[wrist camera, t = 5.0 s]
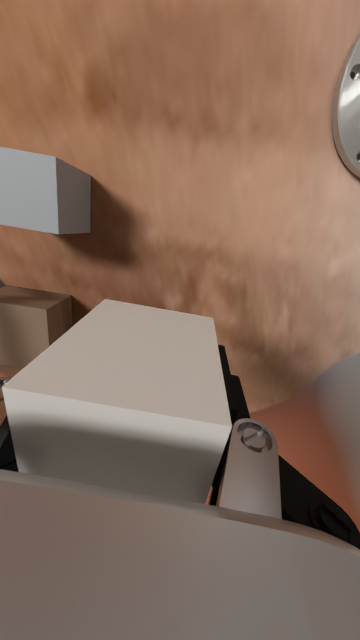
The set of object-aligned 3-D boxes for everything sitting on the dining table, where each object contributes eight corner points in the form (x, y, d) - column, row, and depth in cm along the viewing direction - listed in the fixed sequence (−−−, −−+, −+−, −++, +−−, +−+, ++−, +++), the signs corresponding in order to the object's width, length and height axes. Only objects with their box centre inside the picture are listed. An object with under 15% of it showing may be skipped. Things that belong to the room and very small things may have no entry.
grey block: (90, 175, 21) (55, 156, 15) (90, 232, 23) (58, 234, 17) (36, 165, 21) (-19, 143, 15) (40, 224, 23) (-8, 222, 17)
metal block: (72, 294, 26) (46, 309, 21) (73, 348, 28) (51, 372, 24) (9, 285, 25) (-31, 297, 21) (17, 340, 28) (-17, 362, 23)
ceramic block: (213, 318, 10) (232, 426, 5) (193, 400, 12) (190, 544, 7) (104, 299, 10) (1, 386, 5) (102, 385, 12) (27, 516, 7)
